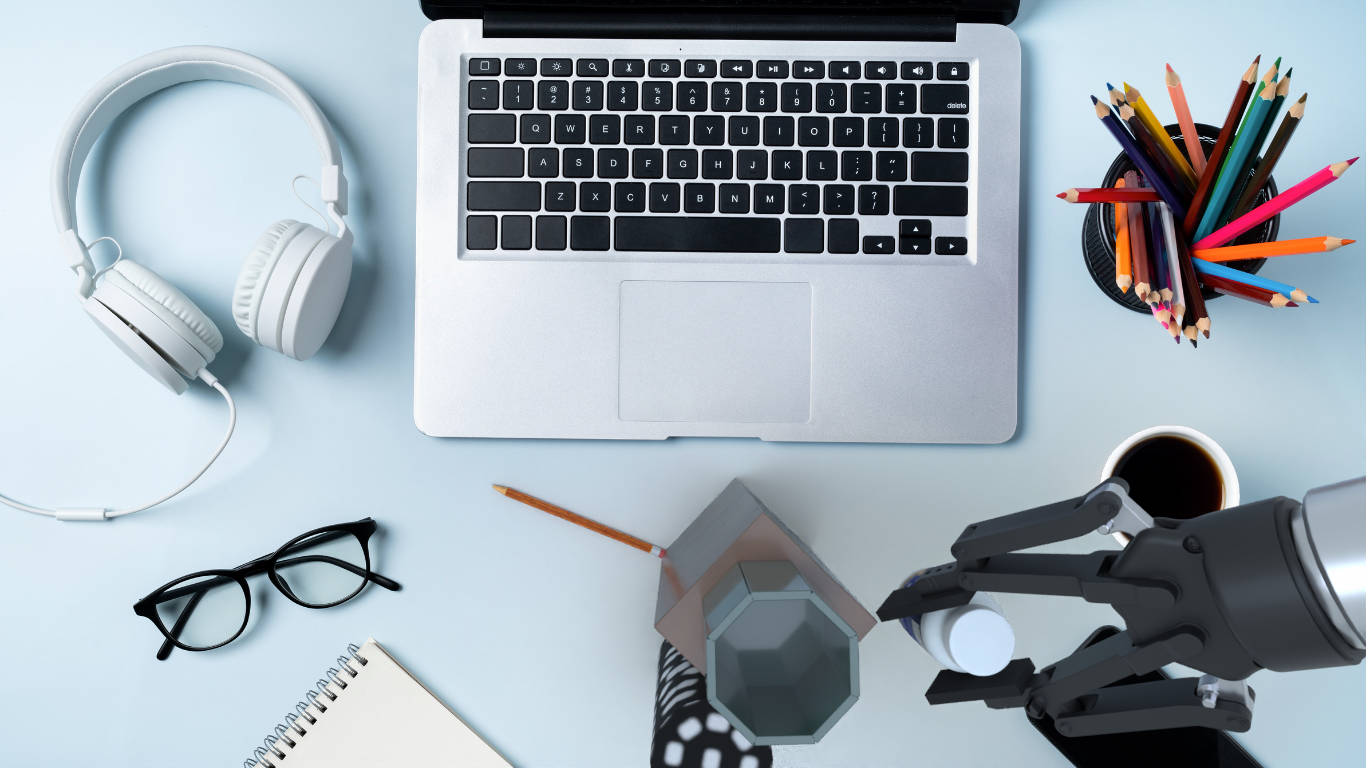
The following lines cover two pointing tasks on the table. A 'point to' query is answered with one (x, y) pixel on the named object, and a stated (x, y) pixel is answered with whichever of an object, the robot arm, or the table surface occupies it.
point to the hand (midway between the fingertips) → (912, 646)
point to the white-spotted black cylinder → (695, 723)
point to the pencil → (580, 521)
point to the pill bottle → (964, 634)
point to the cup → (777, 654)
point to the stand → (715, 547)
